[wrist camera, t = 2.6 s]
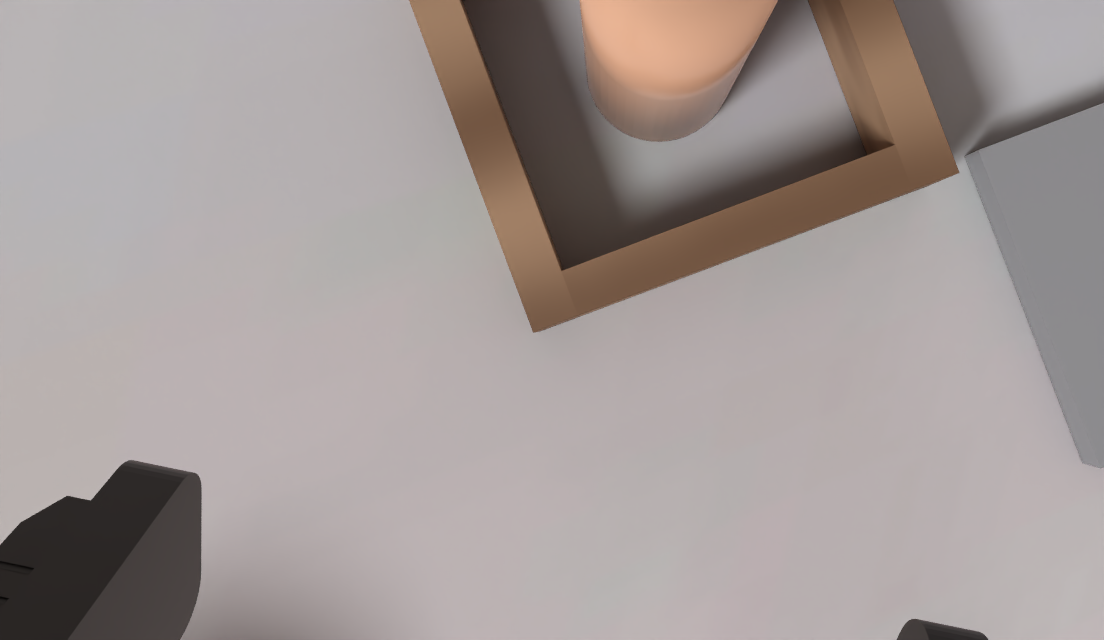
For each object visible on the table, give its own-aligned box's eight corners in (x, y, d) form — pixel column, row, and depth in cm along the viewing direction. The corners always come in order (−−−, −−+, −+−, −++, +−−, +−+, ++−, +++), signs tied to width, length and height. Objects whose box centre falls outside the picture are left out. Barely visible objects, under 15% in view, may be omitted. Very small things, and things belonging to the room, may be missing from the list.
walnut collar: (399, -46, 34) (378, -81, 31) (780, -198, 33) (797, -250, 30) (539, 331, 34) (533, 332, 31) (927, 186, 33) (959, 172, 30)
